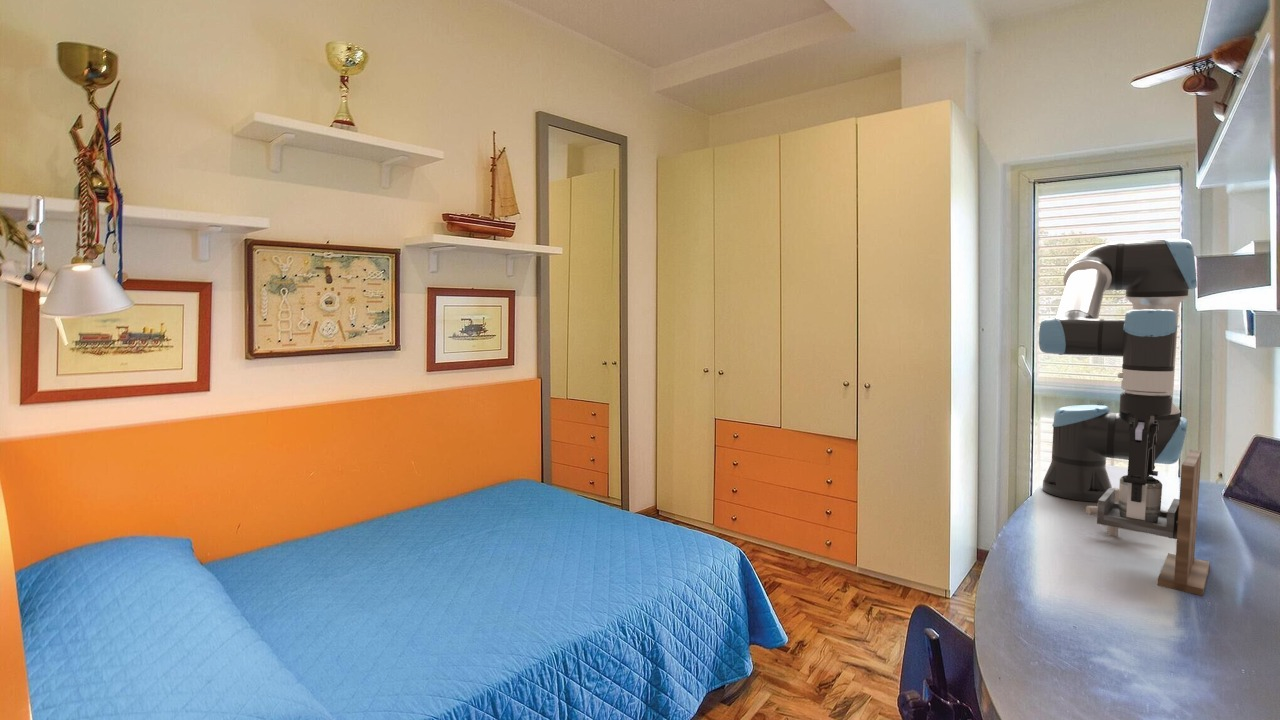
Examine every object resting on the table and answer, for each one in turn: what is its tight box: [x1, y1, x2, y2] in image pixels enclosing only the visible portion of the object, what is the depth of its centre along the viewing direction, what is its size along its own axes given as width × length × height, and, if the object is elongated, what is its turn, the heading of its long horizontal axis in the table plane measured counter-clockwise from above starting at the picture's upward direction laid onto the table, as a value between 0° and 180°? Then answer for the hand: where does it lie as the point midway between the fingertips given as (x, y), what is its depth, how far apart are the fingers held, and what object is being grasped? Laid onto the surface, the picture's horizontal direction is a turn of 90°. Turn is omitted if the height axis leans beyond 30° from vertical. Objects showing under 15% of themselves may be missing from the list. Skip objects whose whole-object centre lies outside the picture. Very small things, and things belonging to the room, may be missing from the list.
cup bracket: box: [1096, 449, 1211, 596], centre depth 117 cm, size 16×16×22 cm
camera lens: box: [1118, 474, 1163, 522], centre depth 118 cm, size 6×6×8 cm
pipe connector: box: [1085, 487, 1119, 537], centre depth 135 cm, size 10×10×10 cm
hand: (1138, 513), depth 119 cm, fingers open, 7 cm apart
